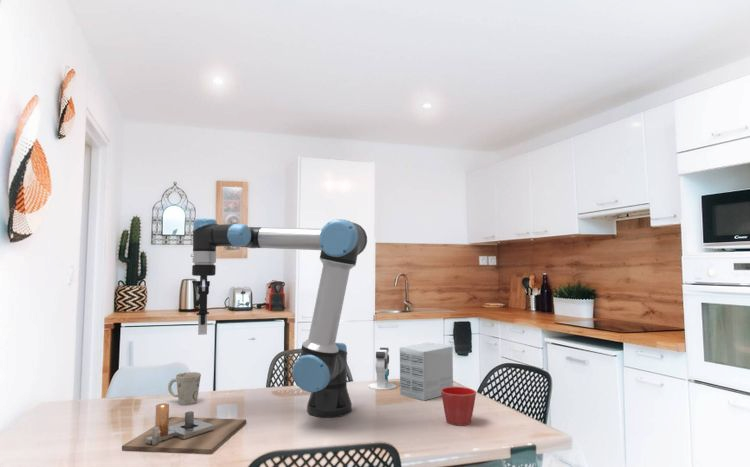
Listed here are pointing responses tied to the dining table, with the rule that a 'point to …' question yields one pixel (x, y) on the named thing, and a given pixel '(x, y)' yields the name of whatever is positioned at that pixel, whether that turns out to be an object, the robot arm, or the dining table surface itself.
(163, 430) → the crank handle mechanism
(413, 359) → the gray vented cabinet
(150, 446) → the post board
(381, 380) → the white grey upright piece
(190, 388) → the mug
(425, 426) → the dining table surface
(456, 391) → the flower pot
